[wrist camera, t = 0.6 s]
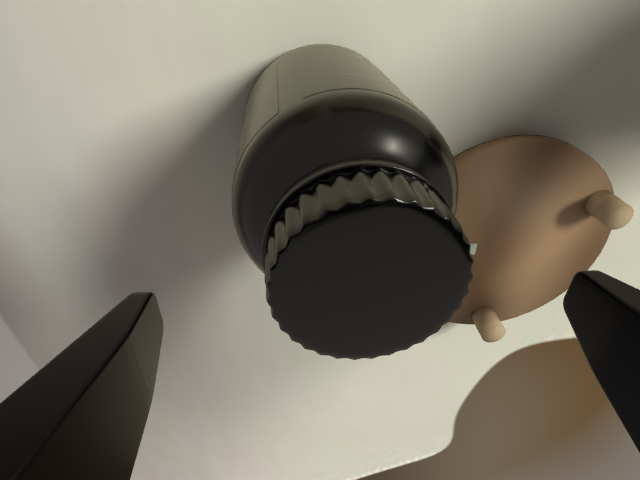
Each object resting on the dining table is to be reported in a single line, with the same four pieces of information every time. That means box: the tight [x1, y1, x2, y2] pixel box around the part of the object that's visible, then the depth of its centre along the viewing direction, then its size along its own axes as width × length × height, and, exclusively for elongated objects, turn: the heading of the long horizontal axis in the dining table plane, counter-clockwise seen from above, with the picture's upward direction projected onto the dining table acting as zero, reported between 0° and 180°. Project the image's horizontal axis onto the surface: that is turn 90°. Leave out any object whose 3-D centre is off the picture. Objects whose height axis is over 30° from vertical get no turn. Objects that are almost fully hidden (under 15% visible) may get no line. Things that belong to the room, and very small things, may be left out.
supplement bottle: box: [232, 44, 474, 360], centre depth 14 cm, size 7×7×12 cm
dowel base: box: [448, 135, 634, 342], centre depth 23 cm, size 12×12×3 cm
